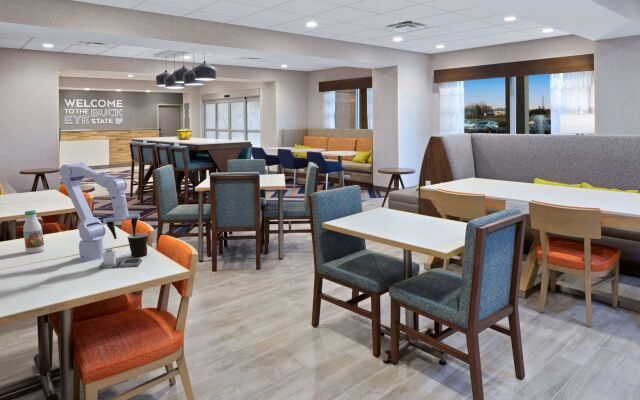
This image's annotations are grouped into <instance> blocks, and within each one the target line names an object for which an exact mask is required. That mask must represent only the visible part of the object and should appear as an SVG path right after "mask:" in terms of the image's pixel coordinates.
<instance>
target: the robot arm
mask: <svg viewBox="0 0 640 400" xmlns="http://www.w3.org/2000/svg"><path fill="white" fill-rule="evenodd" d="M58 174H59V176H60V179H61V180H62V182H63V185H64V187H65V189H66V192H67V194H68V196H69V199H70V200H71V203H72V205H73V207H74V209H75V211H76V213H77V215H78V218H79V219H80V223H79V224H78V226H77V229H78V232H79V233H78V234H79V237H80V239H81V240H80V241H79V243H78V250H79V251H78V253H79V261H80V262H81V261H97V260H98V261H99V260H103V253H104V252H105V250H104V243H103V239H104V236H105V235H106V227H105V225H106V226H107V228H108V229H109V231H110V232H111V234H112V236H113V239H114V240H117V234H116V233H117V232H116V228H115V227H116V226H115V223H118V222H126V221H130V222H131V228H132V234H133V236H135V234H136V230H137V229H136V228H137V224H138V220H140V219H141V215H140V213H136V214H129V209H128V203H127V197H126V190H127V187H128V184H127V181H126V180H125V179H124V178H123V177H118V178H117V177H115V176H114V175H110V174H108V172H106V171H101V172H98V171H96V170H94V169H93V168H91V167H89V166H88V164H86V163H84V162H79V163H71V164H62V165H61V166H60V168H59V173H58ZM85 178H88V179H91V180H94V182H95V183H96V184H97V186H101V187H103V188H105V189H106V191H107V192H108V194H109V197H110V199H111V204H112V205H111V206H112V210H113V216H112V217H107V218H103V223H102V222H101V219H98V218H96V217H94V215H93V212H92V210H91V209H90V207H89V204H88V201H87V200H86V198H85V195H84V192H83V190H82V188H81V186H80V185H81V183H82V182H83V181H84V179H85Z"/></svg>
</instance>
